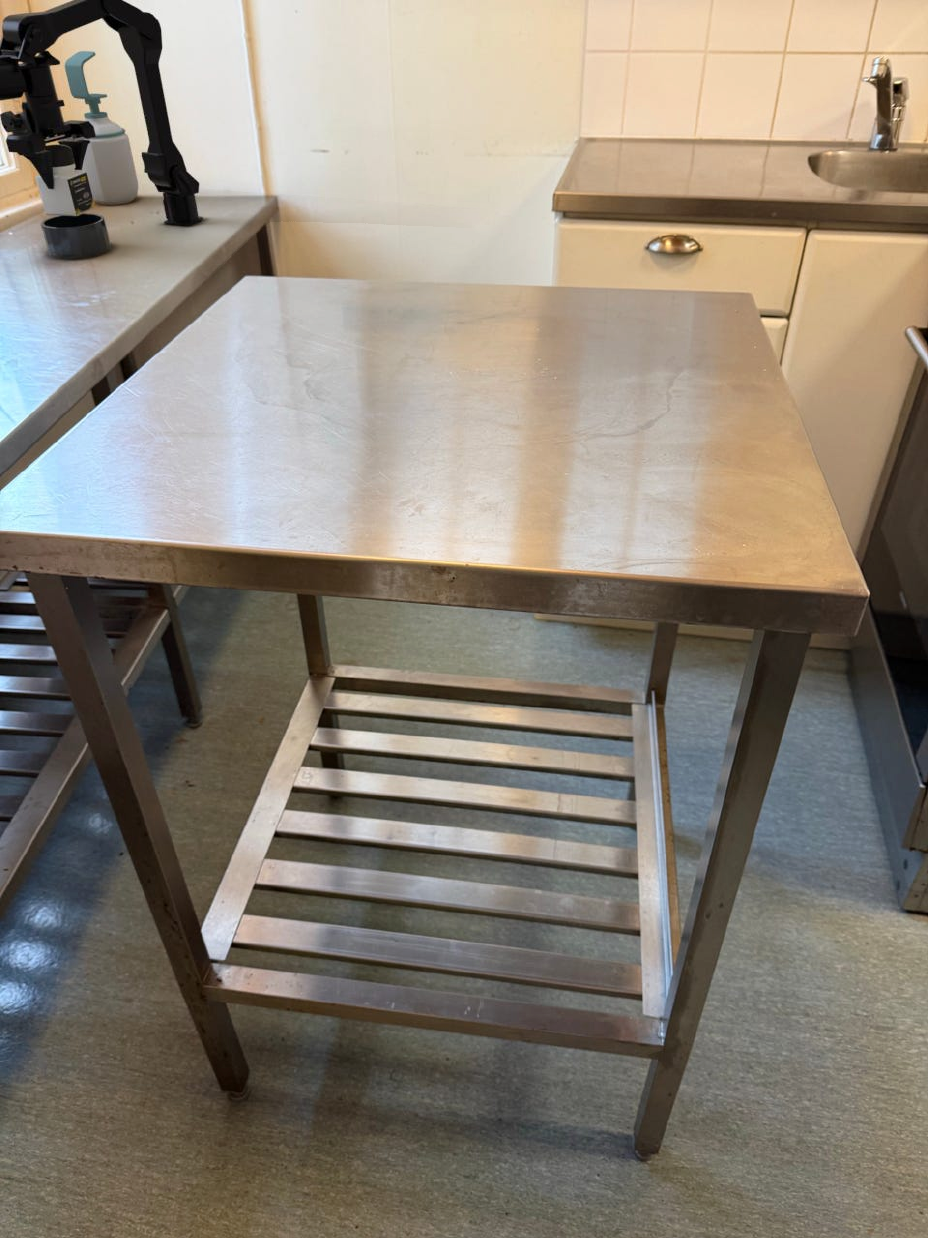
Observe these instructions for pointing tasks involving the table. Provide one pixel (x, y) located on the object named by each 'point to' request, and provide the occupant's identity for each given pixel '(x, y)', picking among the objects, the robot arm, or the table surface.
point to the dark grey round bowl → (76, 236)
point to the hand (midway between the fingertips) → (64, 184)
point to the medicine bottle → (65, 185)
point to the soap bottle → (103, 143)
